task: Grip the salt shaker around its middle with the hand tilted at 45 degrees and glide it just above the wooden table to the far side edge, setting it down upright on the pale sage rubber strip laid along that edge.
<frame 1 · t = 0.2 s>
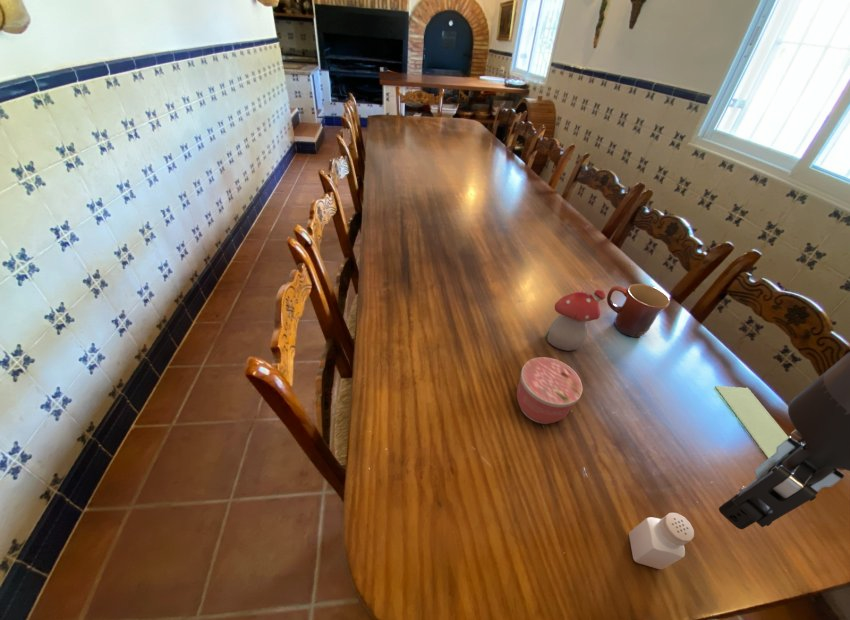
hand: (750, 496, 37), 20 cm above the table, tool pointing down, fingers open, 8 cm apart
mug: (621, 326, 87), on the table
edge strip: (757, 421, 68), on the table
salt shaker: (643, 551, 50), on the table
container: (539, 406, 68), on the table
decorative ornament: (562, 342, 82), on the table
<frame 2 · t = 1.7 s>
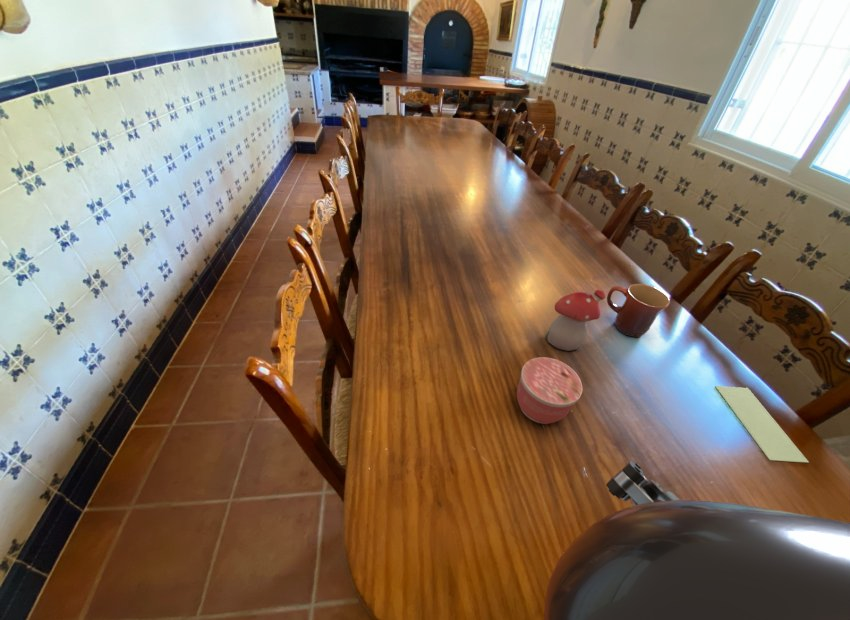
hand: (698, 541, 30), 23 cm above the table, tool tilted 45°, fingers open, 8 cm apart
nothing on the table moved.
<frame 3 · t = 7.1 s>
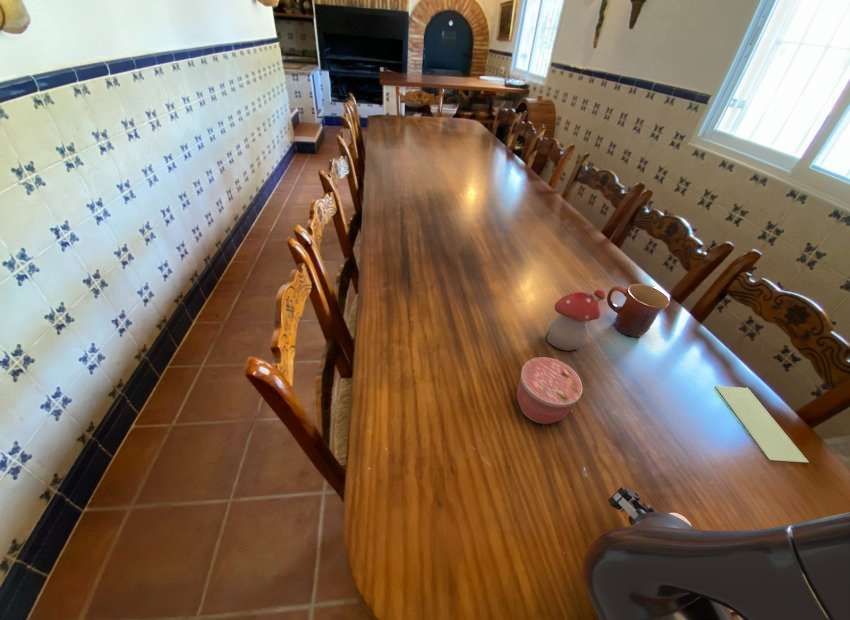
hand: (667, 531, 48), 5 cm above the table, tool tilted 45°, fingers closed on salt shaker, 5 cm apart
salt shaker: (643, 551, 50), on the table, touching gripper
everything else where it was.
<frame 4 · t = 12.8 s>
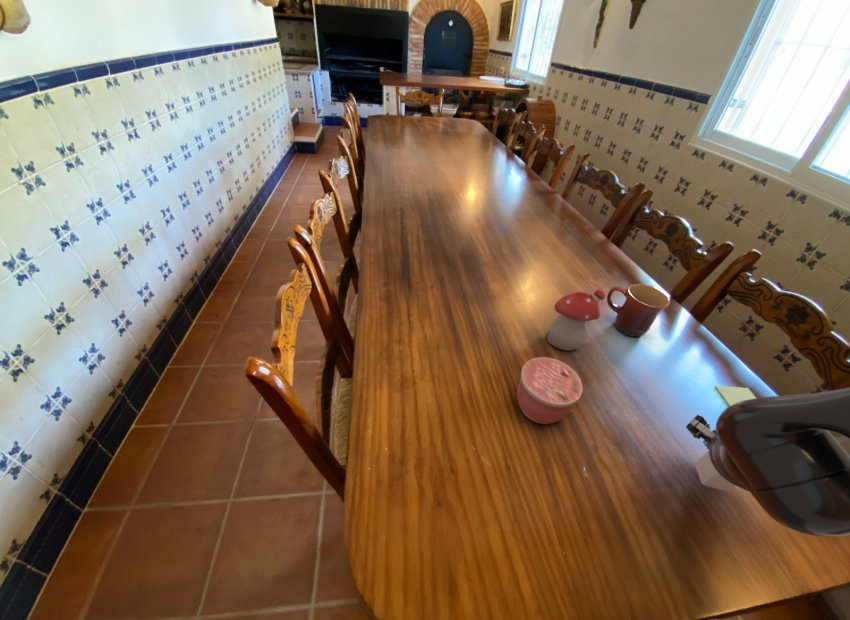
hand: (731, 457, 56), 5 cm above the table, tool tilted 45°, fingers closed on salt shaker, 5 cm apart
salt shaker: (708, 477, 58), point 1 cm above the table, touching gripper
everything else where it was.
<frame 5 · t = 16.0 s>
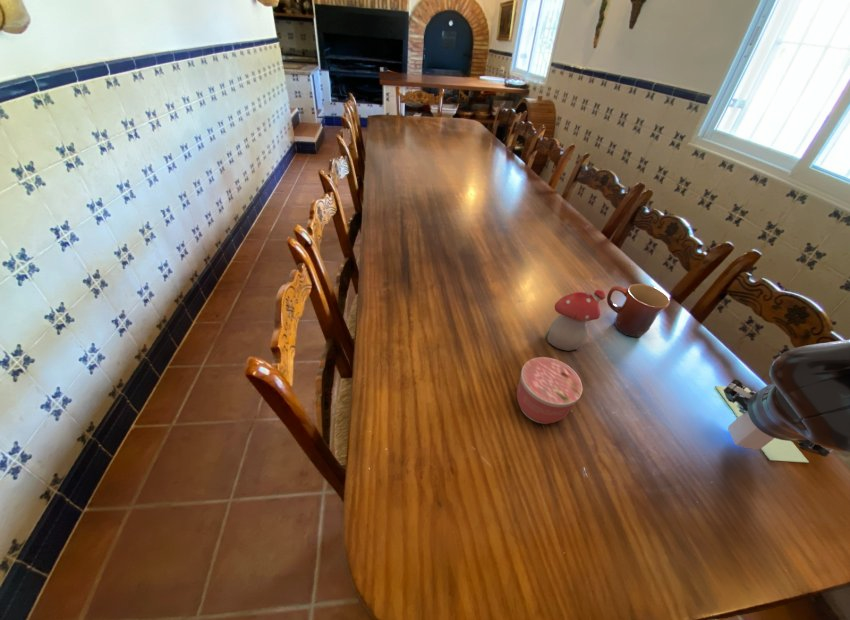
hand: (763, 419, 62), 5 cm above the table, tool tilted 45°, fingers closed on salt shaker, 5 cm apart
salt shaker: (740, 439, 64), point 1 cm above the table, touching gripper
everything else where it was.
when the fingers open (5 cm above the table, at t = 18.7 s): salt shaker stays where it is, resting on edge strip.
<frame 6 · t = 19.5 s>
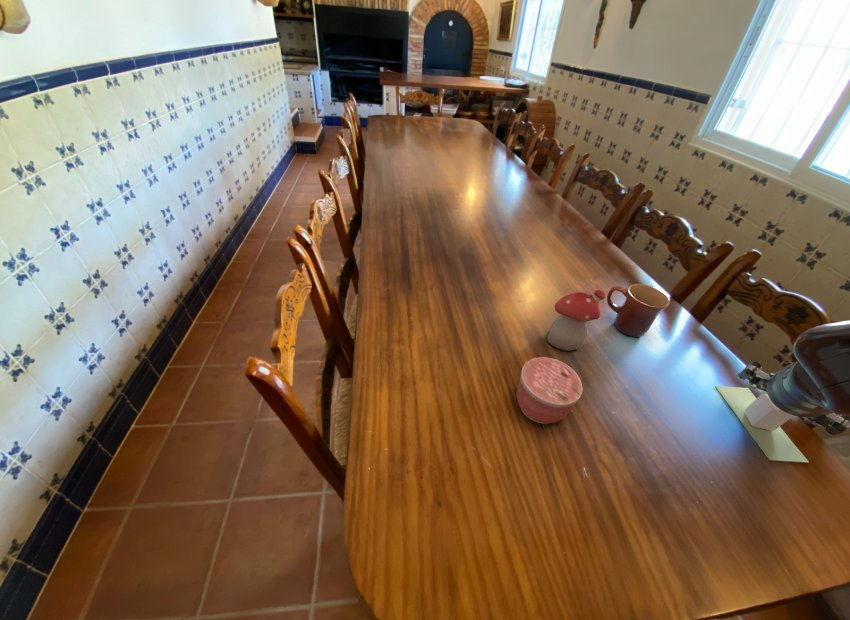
hand: (780, 401, 65), 6 cm above the table, tool tilted 45°, fingers open, 8 cm apart
salt shaker: (756, 421, 68), resting on edge strip
everything else where it was.
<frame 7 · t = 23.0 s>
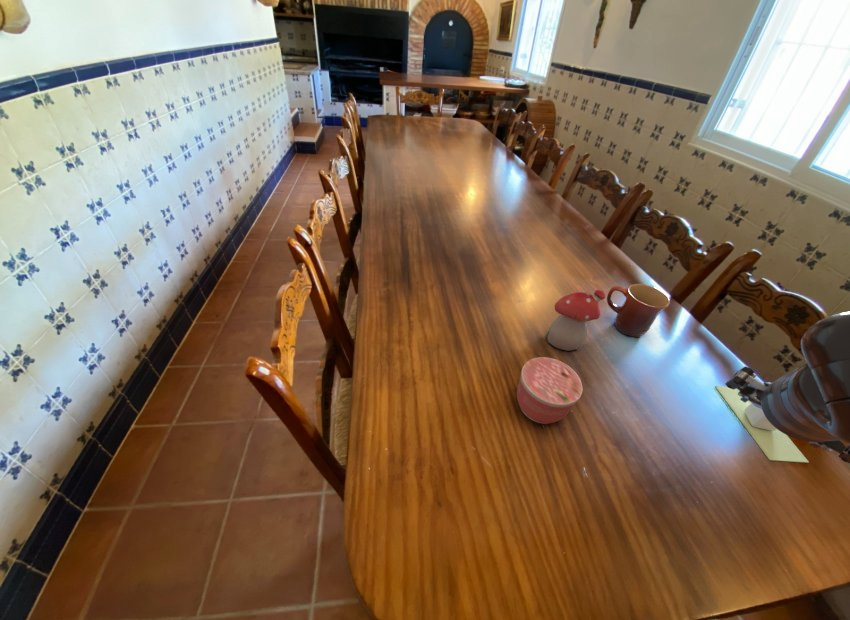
hand: (780, 416, 52), 14 cm above the table, tool tilted 45°, fingers open, 8 cm apart
nothing on the table moved.
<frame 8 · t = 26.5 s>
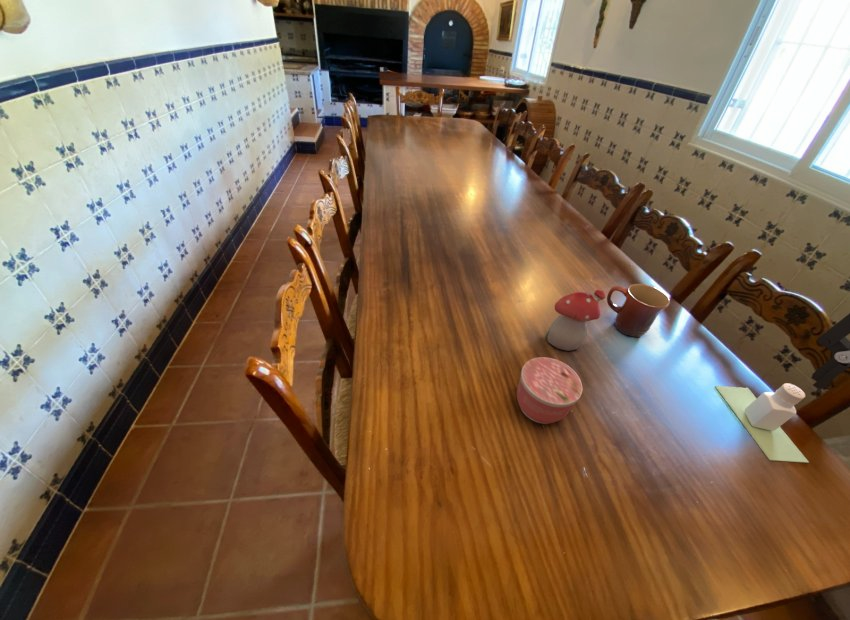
nothing on the table moved.
at the end: salt shaker inside the target area on the edge strip (0.2 cm from its centre), point 0.0 cm above the edge strip's base; salt shaker tilted 0°; salt shaker moved 39.5 cm from its start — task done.
